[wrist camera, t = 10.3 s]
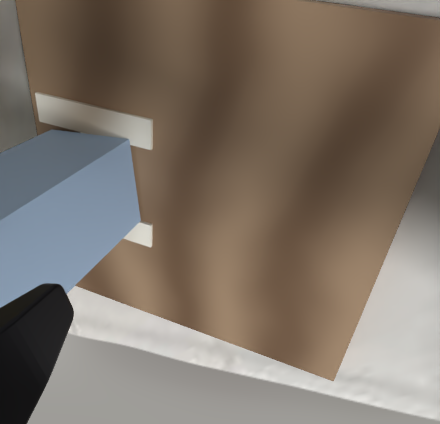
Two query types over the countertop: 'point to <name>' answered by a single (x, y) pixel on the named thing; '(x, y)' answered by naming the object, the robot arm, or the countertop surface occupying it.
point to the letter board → (247, 154)
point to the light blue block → (62, 208)
